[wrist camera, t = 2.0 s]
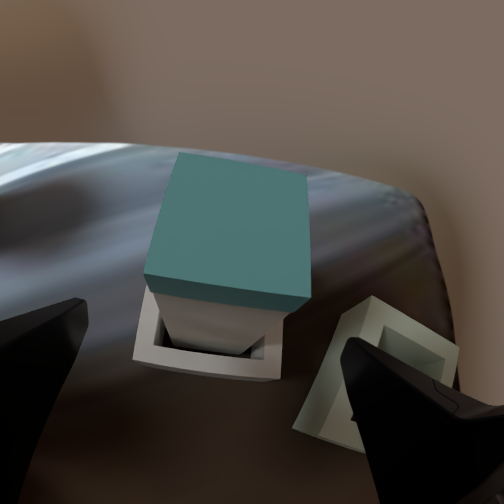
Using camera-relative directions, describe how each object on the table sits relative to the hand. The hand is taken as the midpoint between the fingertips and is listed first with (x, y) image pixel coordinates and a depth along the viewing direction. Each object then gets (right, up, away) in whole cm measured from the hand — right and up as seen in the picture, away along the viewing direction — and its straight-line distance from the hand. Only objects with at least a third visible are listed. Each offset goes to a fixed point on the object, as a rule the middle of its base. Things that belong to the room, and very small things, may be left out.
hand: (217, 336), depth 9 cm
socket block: (+10, -8, +10) cm, 16 cm away
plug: (-2, -2, +11) cm, 11 cm away
